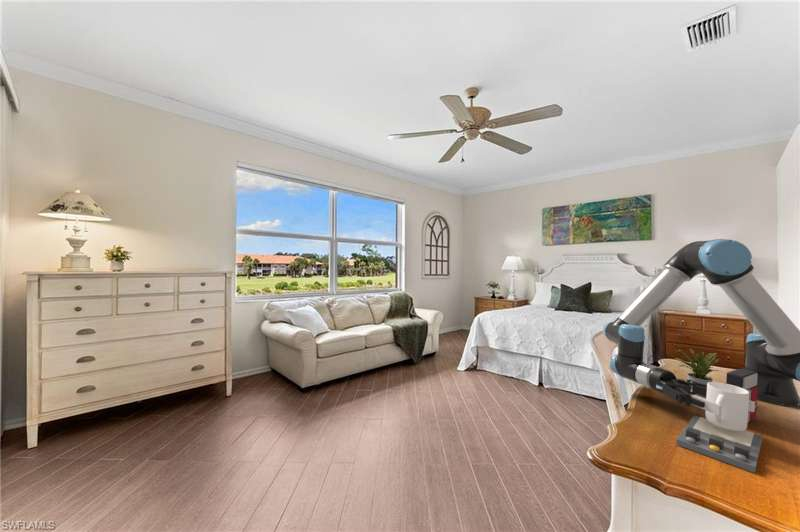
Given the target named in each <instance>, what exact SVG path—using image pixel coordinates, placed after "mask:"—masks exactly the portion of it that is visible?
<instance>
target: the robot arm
mask: <svg viewBox="0 0 800 532" xmlns="http://www.w3.org/2000/svg"><path fill="white" fill-rule="evenodd" d="M752 259H753V255H752V252H751V250H750V249H749V248H748V247H747V246H746V245H745V244H744V243H742V242H740V241H738V240H733V239H726V238H717V239H712V240H698V241H697V240H696V241H692V242H690V243H687V244H686V245H684V246H682V247H681V248H680V249H679V250H678V251H677V252H675V253H674V254H673V255H672V256H671V257H670V258H669V259H668V260H667V261H666V263H664V264H663V266H662V267H663V270H662V271H660V273H659V274H658V275H657V276H656V277H655V278H654V280H652V281H651V282H650V283H649V285H647V287H646V288H645V289H644V290H643V291H642V292H641V293H640V294H639V295H638V296H637V297H636V298H635V299H634V300H633V301H632V302H631V303H630V304H629V306H627V308H625V309H624V310H623V311H622V313H621V314H620V315H619V316H618V317H617V318H616V319H615V320H614V321H611V322H610V321H609V322H607V323H606V324H605V325H604V326H603V329H602V333H603V335H604V336H605V337H606V338H607V339H608V341H610V342H613V344H616V345H617V349H618V350H617V351H618V352H617V354H614V355H613V356H612V357H611V359H610V361H609V369H611V371H612V372H613V373H614V374H616V375H618V376H620V377H622V378H624V379H627V380H629V381H633V382H634V383H637V384H640V385H642V386H644V387H645V388H646V389H652V390H653V391H657V392H659V393H662V394H664V395H665V396H667V397H668V398H671V399H672V400H673V401H675V402H677V403H679V404H684V406H685V407H689V408H690V407H691V405H692V406H694V407H696V408H699V409H702V410H704V411H705V412H706V411H709V412H711V413H713V414H716V415H718V416H721V406H722V405H719V404H716V403H714V402H711V401H709V400H706V398H703V397H706V395H707V385H706V384H702V383H698V382H695V381H692V380H688V379H687V380H685V379H680V378H677V377H676V375H675V373H674V372H672V371H670V370H667V369H665V368H662V367H659V366H656V365H653V364H651V363H647V362H644V352H645V351H644V350H645V349H644V348H645V340H646V336H645V329H644V327H642V325H643V324H644V323H645V322H646V321H647V320H648V319H649V318H650V317H651V316H652V315H653V314H654V313H656V311H657V310H658V309H659V308H660V307H661V305H663V304H664V303H665V302H666V301H667V300H668V299H669V298H670V297H671V296H672V295H673V294H674V293H675V292H676V291H677V290H678V289H679V288H680V287H681V286H682V285H683V284H684V283H685V282H691V280H692V279H693V278H694V277H696V276H697V275H699V274H703V276H704V277H705V278H706V279H707V281H708V282H709V283H710V285H712V286H719V287H720V288H721V289H722V291H724V293H725V294H726V295H727V296H728V298H729V299H730V300H731V301H732V302H733V304H734V305H735V306H736V307H737V308H738V310H739V311H740V312H741V313H742V314H743V316H744V317H745V318H746V319H747V321H748V322H749V323H750V324H751V326H753V328H754V329H755V331H757V332H755V333H754V332H753V333H749V334H747V337H746V341H745V344H746V345H745V361H744V362H745V363H744V365H745V366H744V369H747V370H752V371H756V372H757V374H758V376H757V385H756V387H758V392H757V401H761V402H765V403H769V402H770V403H769V404H774V403H776V404H775V405H779V404H784V405H783V406H787V405H797V406H799V405H800V404H799V403H800V396H799V394H798V390H797V387H796V384H795V383H794V380H795V381H798V382H800V330H799V328H798V327H797V326H796V325H795V323H794V322H793V321H792V320H791V319H790V317H789V316H788V315H787V314H786V312H784V310H783V309H782V308H781V307H780V306H779V305H778V303H777V302H776V301H775V300H774V299H773V298H772V296H771V295H770V294H769V293H768V291H767V290H766V289H765V288H764V286H762V284H761V283H760V282H759V281H758V280H757V279H756V277H755V275H753V271H754V270H755V267H754V266H753V264H752ZM691 390H693V391H692V392H690V391H691ZM696 394H699V395H696ZM701 395H703V396H702V397H701ZM798 404H799V405H798ZM754 410H755V402H753V401H750V400H749V406H748V411H751V412H754Z"/></svg>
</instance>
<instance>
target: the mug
mask: <svg viewBox="0 0 800 532" xmlns="http://www.w3.org/2000/svg"><path fill="white" fill-rule="evenodd" d="M705 397H706V398H705V399H706V400H709V401H711V402H714V403H716V404H719V405H722V406H721V416H718V415H716V414H713V413H711V412H709V411H706V410H705V411H704V412H705V419H707V420H708V421H709V422H710V423H712V424H714V425H716V426H719V427H722V428H725V429H729V430H734V431H744V430H745V431H747V429H748V423H749V422H748V406H749V392H748V391H747V390H745V389H743V388H740V387H737V386H734V385H730V384H726V382H725V383H723V382H717V381H712V382H709V383H707V395H706V396H705ZM747 422H748V423H747Z"/></svg>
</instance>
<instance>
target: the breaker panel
mask: <svg viewBox="0 0 800 532" xmlns="http://www.w3.org/2000/svg"><path fill="white" fill-rule="evenodd" d="M762 443H763V435H762V434H761V435H760V434H758V433H755V432H752V431H748V430H744V431H734V430H729V429H725V428H722V427H719V426H716V425H714V424H712V423H710V422H709V421H708V420H707V419H706V417H700V416H698V415H693V416H692V417H691V418H690V420H689V421H688V422H687V424H686V426H684V428H683V429H682V430H681V432H680V434H679V435H678V436H677V438H676V446H678V447H681V448H683V449H687V450H690V451H693V452H695V453H698V454H701V455H704V456H706V457H709V458H711V459H715V460H718V461H721V462H723V463H725V464H728V465H731V466H733V467H737V468H739V469H743V470H745V471H748V472H750V473H753V474H756V470H757V466H758V462H759V456H760V451H761V447H762Z"/></svg>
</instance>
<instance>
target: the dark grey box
mask: <svg viewBox="0 0 800 532" xmlns="http://www.w3.org/2000/svg"><path fill="white" fill-rule="evenodd" d="M757 376H758V374H757V372H756V371H752V370H747V369H745V368H742V367H740V368H737V369H734V370H730V371H728V372H726V378H725V379H726V381H725V384H730V385H734V386H737V387H740V388H743V389H745V390H747V391H748V392H749V400H750V401H753V402H755V410H754V412H751V411H748V422H747V424H748V423H749V422H751V421H753V420H756V419H757V406H758V400H757V392H758V387H756V385H757Z"/></svg>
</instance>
